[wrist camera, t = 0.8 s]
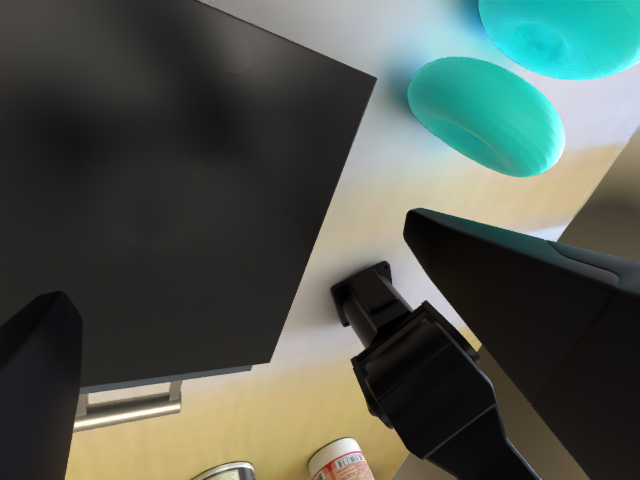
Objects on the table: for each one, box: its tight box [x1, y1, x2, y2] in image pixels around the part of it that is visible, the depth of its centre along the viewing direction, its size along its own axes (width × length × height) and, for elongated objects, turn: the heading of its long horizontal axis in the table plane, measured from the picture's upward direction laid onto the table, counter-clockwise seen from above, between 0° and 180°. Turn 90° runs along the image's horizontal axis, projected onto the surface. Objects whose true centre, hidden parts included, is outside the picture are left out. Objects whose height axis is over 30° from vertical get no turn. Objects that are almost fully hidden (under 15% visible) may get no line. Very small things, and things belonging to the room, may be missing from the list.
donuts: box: [408, 0, 640, 177], centre depth 19 cm, size 10×10×10 cm
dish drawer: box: [73, 365, 252, 433], centre depth 17 cm, size 21×13×7 cm, turn 159°
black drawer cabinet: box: [0, 0, 377, 388], centre depth 15 cm, size 16×14×8 cm
